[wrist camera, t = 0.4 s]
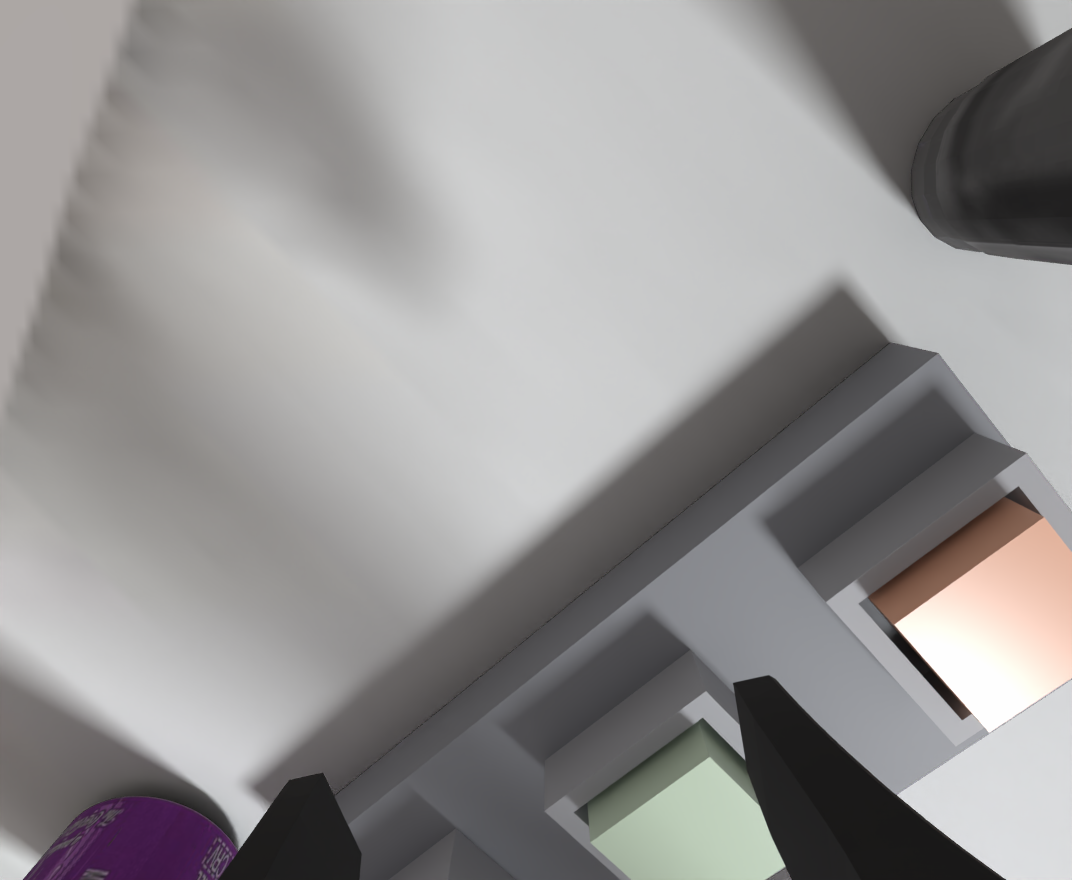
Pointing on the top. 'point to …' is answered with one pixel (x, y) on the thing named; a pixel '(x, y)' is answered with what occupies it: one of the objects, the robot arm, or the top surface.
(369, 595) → the top surface
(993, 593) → the terracotta button
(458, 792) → the button panel
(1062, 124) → the beverage cup
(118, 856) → the beverage can
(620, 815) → the sage button
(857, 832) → the robot arm
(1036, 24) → the top surface
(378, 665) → the top surface
